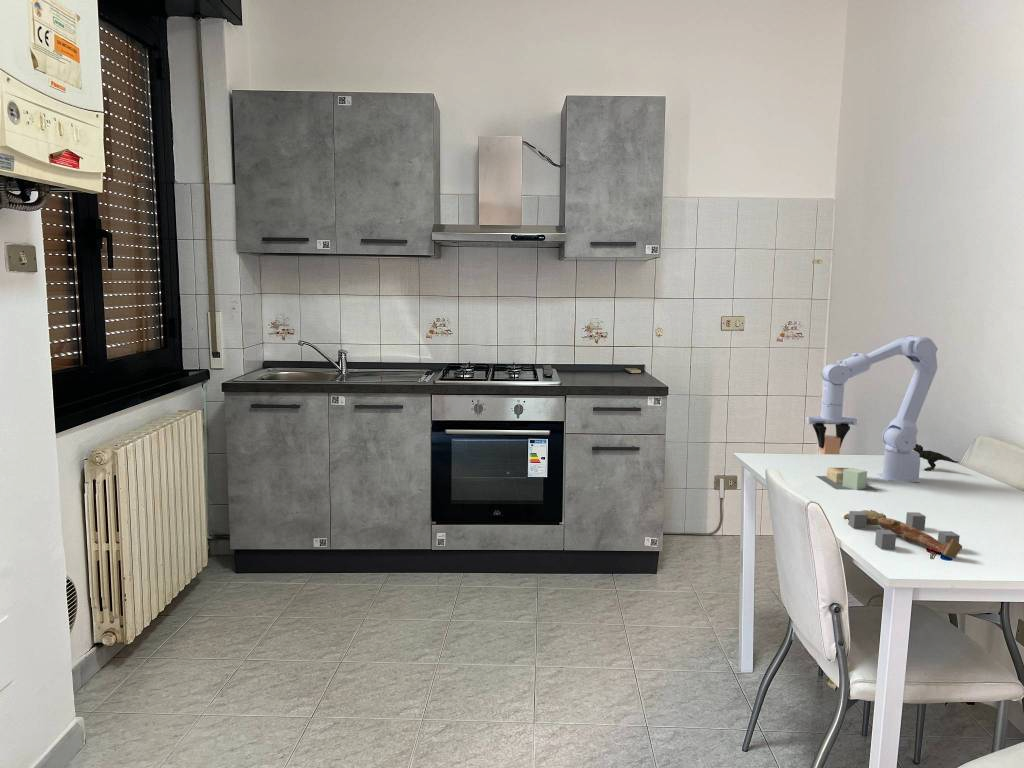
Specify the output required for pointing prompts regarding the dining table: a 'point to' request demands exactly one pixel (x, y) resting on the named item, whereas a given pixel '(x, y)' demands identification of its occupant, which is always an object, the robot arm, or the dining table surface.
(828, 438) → the terracotta cube
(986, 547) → the dining table surface
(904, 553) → the dining table surface
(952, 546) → the figurine
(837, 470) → the oak slab
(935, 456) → the toy
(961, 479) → the dining table surface
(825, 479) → the mat
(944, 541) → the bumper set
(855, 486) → the sage cube
